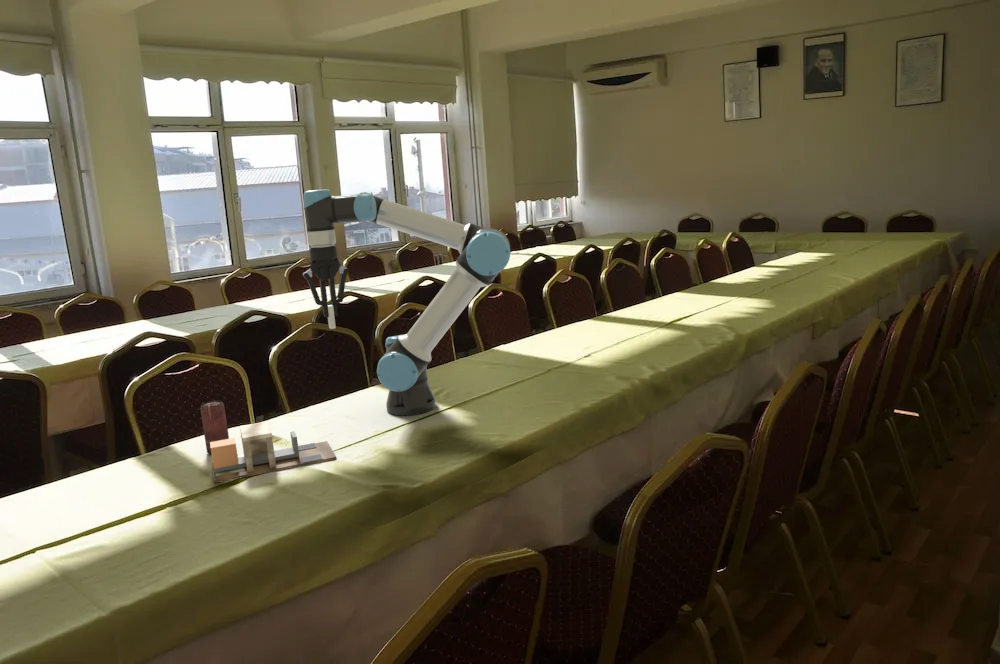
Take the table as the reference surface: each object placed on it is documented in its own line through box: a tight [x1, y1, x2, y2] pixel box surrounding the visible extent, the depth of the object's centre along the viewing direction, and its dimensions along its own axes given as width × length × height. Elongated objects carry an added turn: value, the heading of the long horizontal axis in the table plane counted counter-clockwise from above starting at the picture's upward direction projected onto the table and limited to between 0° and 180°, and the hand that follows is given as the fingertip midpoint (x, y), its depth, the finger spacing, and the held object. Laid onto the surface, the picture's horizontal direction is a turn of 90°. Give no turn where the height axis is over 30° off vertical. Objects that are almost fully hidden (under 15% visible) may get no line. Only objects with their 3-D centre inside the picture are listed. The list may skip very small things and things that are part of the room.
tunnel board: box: [212, 420, 337, 483], centre depth 203 cm, size 30×14×10 cm, turn 112°
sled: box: [210, 430, 299, 473], centre depth 201 cm, size 21×5×6 cm, turn 112°
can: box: [199, 400, 230, 456], centre depth 213 cm, size 6×6×14 cm
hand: (332, 327), depth 224 cm, fingers closed
